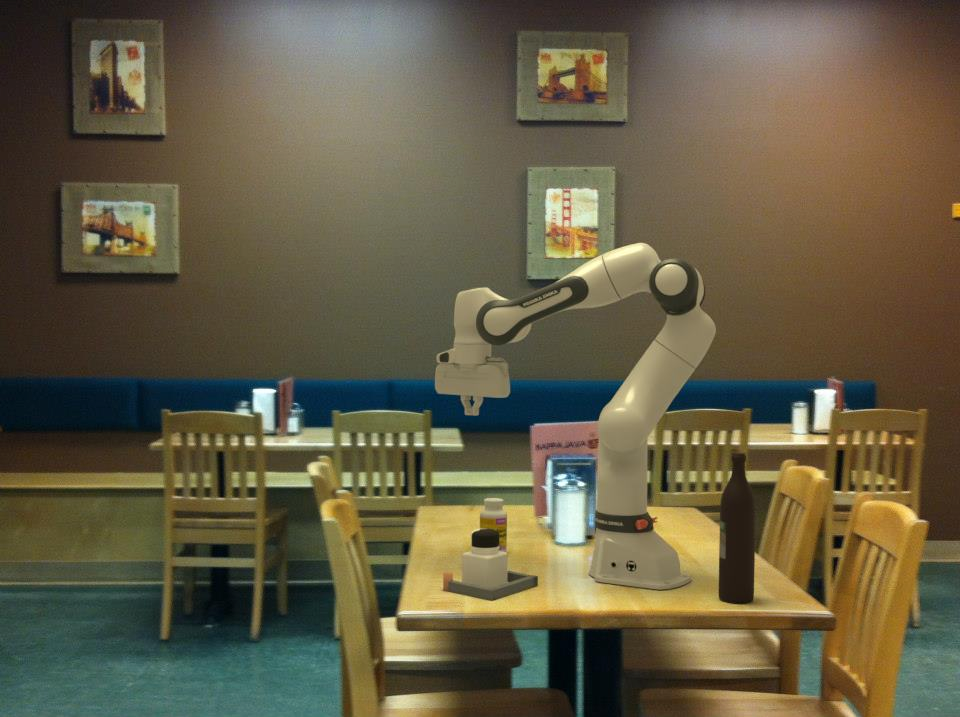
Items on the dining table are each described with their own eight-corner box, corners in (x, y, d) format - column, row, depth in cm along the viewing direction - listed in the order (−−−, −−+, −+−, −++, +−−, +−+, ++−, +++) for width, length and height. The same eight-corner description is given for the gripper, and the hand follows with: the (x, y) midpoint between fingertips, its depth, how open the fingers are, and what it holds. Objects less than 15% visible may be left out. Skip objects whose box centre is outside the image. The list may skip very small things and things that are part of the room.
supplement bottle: (495, 556, 259) (496, 502, 259) (473, 552, 263) (474, 499, 263) (512, 551, 264) (512, 499, 264) (490, 547, 268) (490, 496, 268)
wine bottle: (733, 593, 226) (736, 450, 225) (761, 600, 220) (764, 454, 219) (711, 598, 222) (713, 452, 221) (738, 605, 216) (741, 456, 215)
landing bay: (538, 585, 231) (538, 569, 231) (491, 600, 218) (491, 583, 218) (489, 575, 239) (489, 559, 239) (441, 590, 226) (441, 573, 226)
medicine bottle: (508, 585, 231) (508, 529, 231) (487, 591, 225) (488, 534, 225) (481, 580, 235) (482, 525, 235) (461, 586, 230) (461, 530, 229)
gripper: (516, 357, 249) (515, 417, 250) (448, 354, 262) (447, 411, 263) (499, 357, 244) (498, 419, 245) (431, 355, 257) (430, 413, 258)
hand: (471, 415), depth 254 cm, fingers closed
